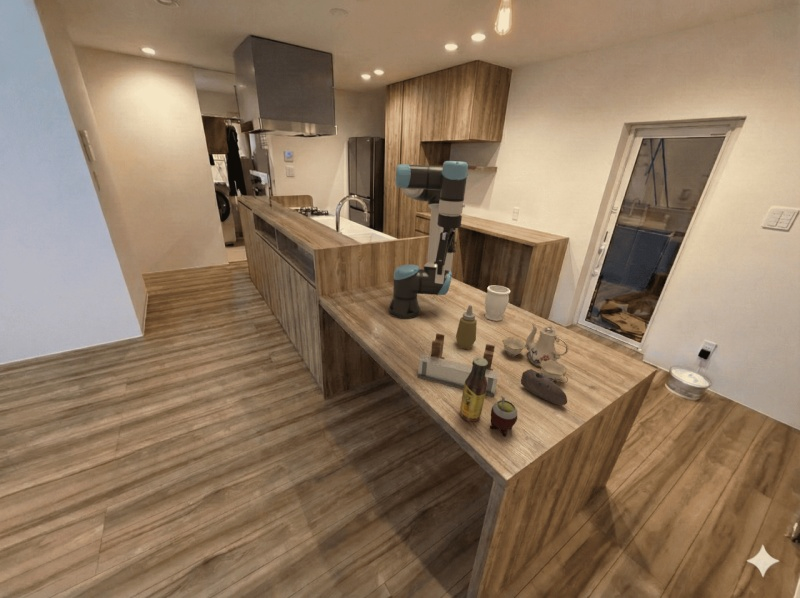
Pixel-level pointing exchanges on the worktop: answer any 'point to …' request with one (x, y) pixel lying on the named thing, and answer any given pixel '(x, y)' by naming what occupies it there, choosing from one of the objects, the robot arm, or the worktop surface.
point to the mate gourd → (503, 416)
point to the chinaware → (540, 351)
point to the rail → (452, 372)
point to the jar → (496, 302)
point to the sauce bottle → (474, 390)
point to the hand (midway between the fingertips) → (443, 276)
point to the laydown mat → (447, 383)
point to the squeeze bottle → (466, 329)
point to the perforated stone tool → (543, 387)
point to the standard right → (489, 355)
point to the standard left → (438, 346)
